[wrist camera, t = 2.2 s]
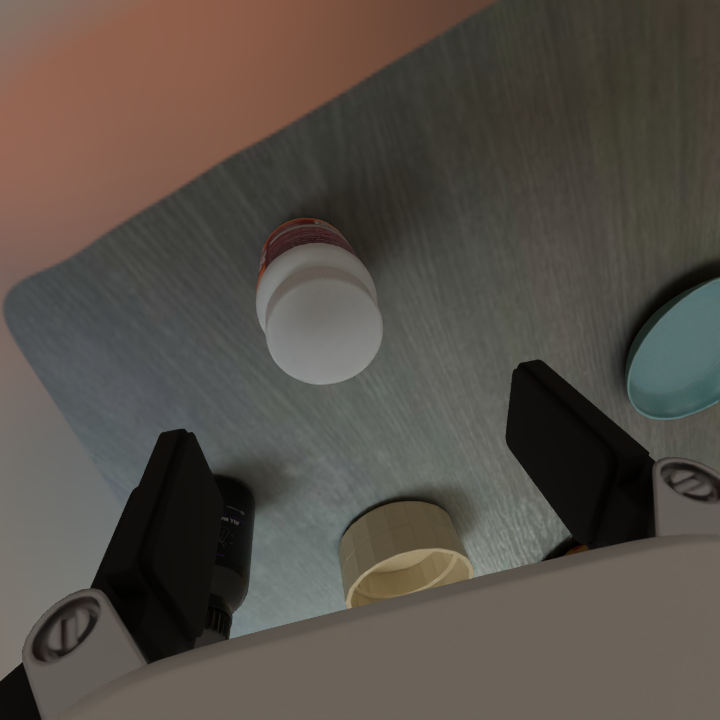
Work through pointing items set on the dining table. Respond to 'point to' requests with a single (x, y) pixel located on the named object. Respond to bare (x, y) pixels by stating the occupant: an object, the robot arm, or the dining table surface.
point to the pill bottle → (317, 303)
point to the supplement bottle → (230, 561)
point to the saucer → (677, 356)
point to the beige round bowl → (400, 553)
